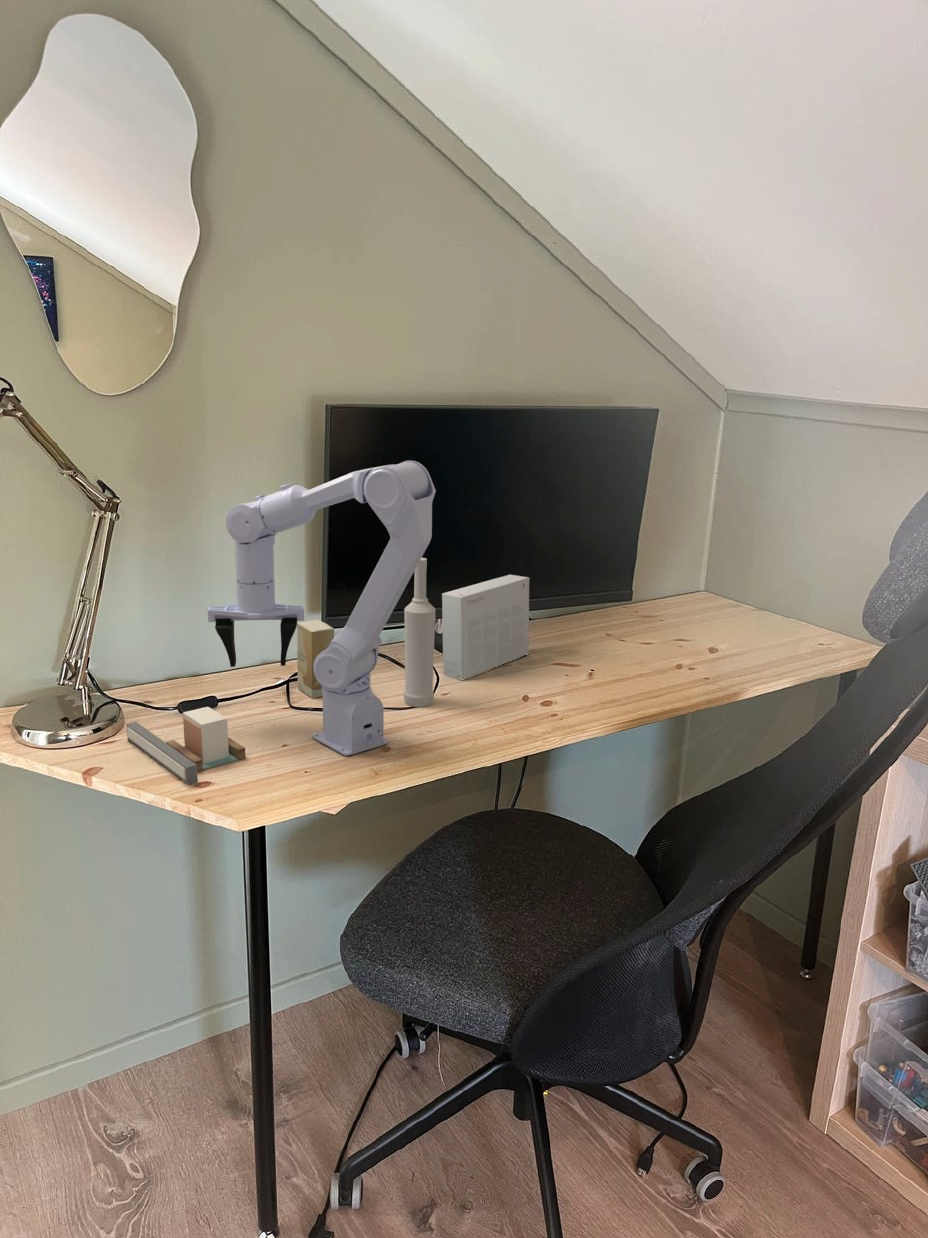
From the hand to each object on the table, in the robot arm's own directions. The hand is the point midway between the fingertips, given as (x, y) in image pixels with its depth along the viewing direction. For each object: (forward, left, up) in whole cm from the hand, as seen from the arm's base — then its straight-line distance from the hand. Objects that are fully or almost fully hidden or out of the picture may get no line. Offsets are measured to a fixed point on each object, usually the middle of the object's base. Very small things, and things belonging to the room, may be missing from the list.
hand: (258, 664), depth 152 cm
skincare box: (+7, -15, -10) cm, 19 cm away
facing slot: (-6, +12, -10) cm, 17 cm away
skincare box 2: (0, -49, -10) cm, 50 cm away
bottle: (-8, -26, -10) cm, 29 cm away
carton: (-6, +12, -10) cm, 17 cm away
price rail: (-4, +18, -10) cm, 21 cm away
